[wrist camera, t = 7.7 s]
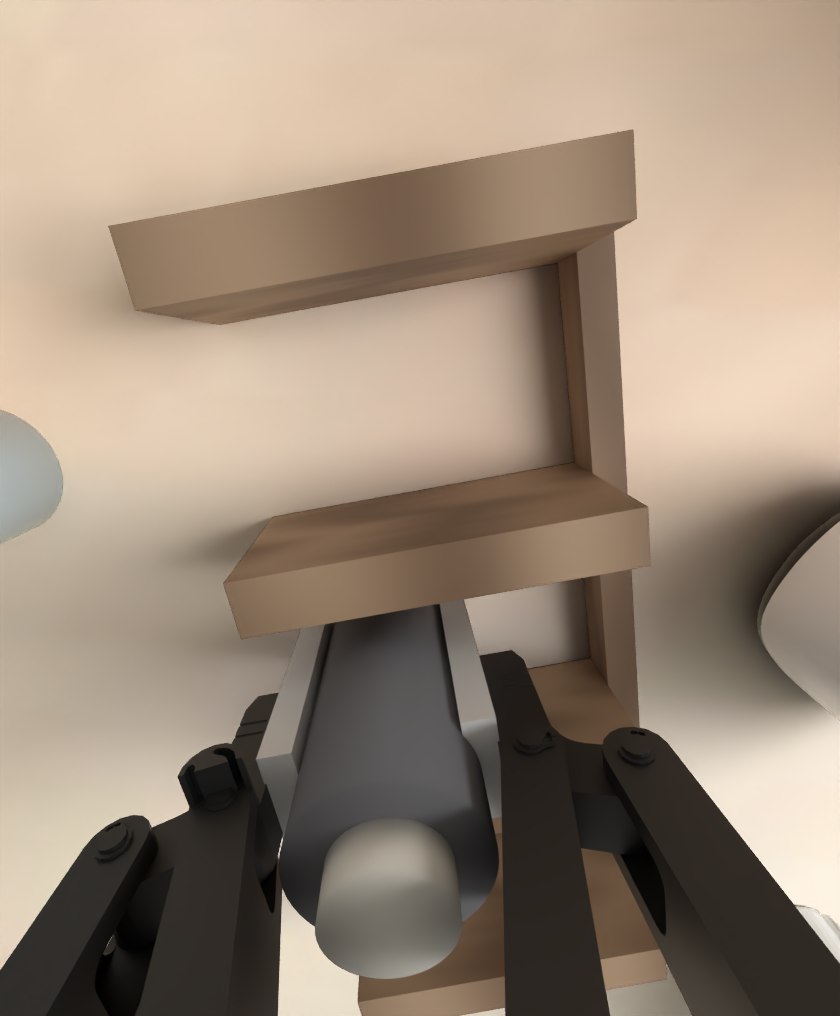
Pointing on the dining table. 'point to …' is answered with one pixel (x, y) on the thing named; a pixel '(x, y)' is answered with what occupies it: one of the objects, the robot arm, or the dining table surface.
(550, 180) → the comb rack
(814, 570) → the spread jar
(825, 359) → the dining table surface
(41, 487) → the light blue bottle
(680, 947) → the robot arm
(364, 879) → the charcoal plug
